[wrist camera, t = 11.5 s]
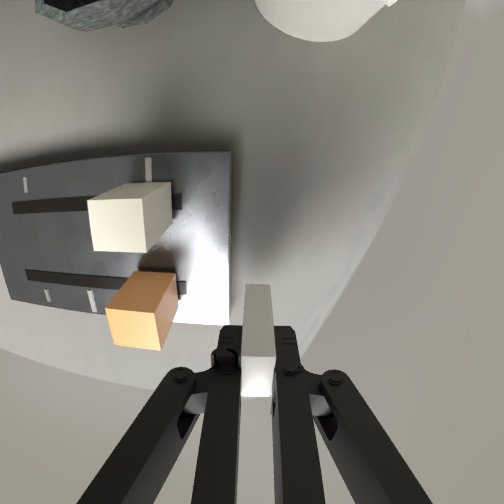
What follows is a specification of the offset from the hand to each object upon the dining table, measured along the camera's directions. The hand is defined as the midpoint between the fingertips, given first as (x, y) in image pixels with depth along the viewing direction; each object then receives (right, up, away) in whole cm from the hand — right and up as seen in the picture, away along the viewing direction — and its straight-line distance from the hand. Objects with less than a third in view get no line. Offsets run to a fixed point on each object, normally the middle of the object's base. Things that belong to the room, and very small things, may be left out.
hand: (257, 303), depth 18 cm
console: (-13, +5, +2) cm, 14 cm away
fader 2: (-7, +1, +1) cm, 7 cm away
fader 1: (-7, +6, -1) cm, 9 cm away
